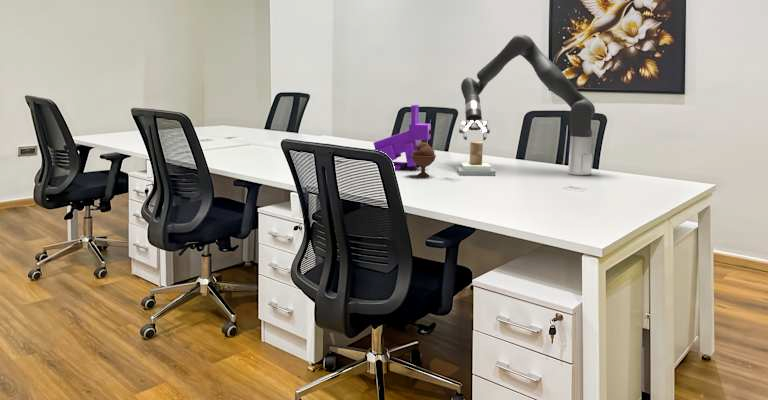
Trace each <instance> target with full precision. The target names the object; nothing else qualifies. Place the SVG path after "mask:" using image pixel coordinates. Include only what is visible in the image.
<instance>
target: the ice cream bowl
mask: <svg viewBox="0 0 768 400" xmlns="http://www.w3.org/2000/svg"><path fill="white" fill-rule="evenodd" d="M436 157H437V155H436V154H435V150H434V148H433V147H431V146H430V145H429V143H428V142H425V141H422V142H418V146H417V149H416V150H415V151H413V154H412V155H411V158H412V160H413V162H414V163H415V164H416V165H418V166H419V167H420V171H421V172H419V173H417V175H416V176H417V177H419V178H429V177H430V174H429V173H427V172H426V167H429V166H430V165H432V163H434V161H435V160H436Z"/></svg>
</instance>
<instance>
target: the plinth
mask: <svg viewBox="0 0 768 400" xmlns="http://www.w3.org/2000/svg"><path fill="white" fill-rule="evenodd" d="M456 171H457V173H458V175H459V176H468V177H469V176H471V177H472V176H473V177H474V176H477V177H479V176H480V177H482V176H483V177H485V176H487V177H492V176H494V177H496V170H495V169H494V168H493V167H492V166H491V165H490V164H489V163H488V162H487V161H486V162H483V161H482V165H471V164H470V161H466V162H464V161H462V162H461V165H456Z"/></svg>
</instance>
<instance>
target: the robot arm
mask: <svg viewBox="0 0 768 400" xmlns="http://www.w3.org/2000/svg"><path fill="white" fill-rule="evenodd" d="M518 56H521V57H522V58H524V59H525V60H526V61H527V62H528V63H529V64H530V65H531V67H532V68H533V70H534V72H535V74H536V76H537V78H538V79H539V80H540V81H541V83H542V84H543V85H544V86H545V87H546V88H547V89H548V90H549V91H550V92H552V93H553V94H555V95H556V96H557V97H559V99H561V100H563V101H564V102H565V103H566V104H567V105H568V106H569V107H570V114H569V118H570V119H569V131H570V136H569V137H570V139H569V153H568V169H567V170H568V171H567V174H569V175H576V176H587V175H591V174H592V164H593V163H592V162H593V152H592V153H591V151H592V149H591V148H592V136H593V130H592V118H593V117H594V116H595V113H596V108H595V107H596V106H595V105H594V104H593V102H592V101H590V100H589V99H588V98H587V97H585V96H584V95H583V94H582V93H581V92H580V91H579V90H578V89H577V88H576V87H575V86H574V84H573V83H572V82H571V81H570V80H569V78H567V76H566V75H565V74H564V73H563V72H562V71H561V69H559V67H557V66H556V64H555V63H553V62H552V61H551V60H550V58H548V57H547V56H546V55H545V54H544V53H543V52H542V51H541V49H540V48H539V47H538V45H537V44H536V43H535V42H534V41H533V39H532V38H531V37H530V36H528V35H525V34H517V35H515V36H513V37H512V38H511V39H510V40H509V42H508V43H506V45H505V46H504V48H502V50H501V51H500V52H499V53H498V54H497V55H496V56H495V57H494V58H493V59H492V60H490V61H489V62H488V63H486V64H485V66H483V67H482V68H481V69H480V70H479V71H477V74H476V77H477V80H478V82H477V81H476V80H475V79H474V78H472V77H466V78H464V79H463V80H462V81H461V83H460V84H461V85H460V89H461V93H462V95H463V98H464V101H465V102H464V105H465V109H464V114H465V121H463V120H459V123H458V124H459V126H458V127H459V128H458V129H459V130H458V133H459V134H462V136H463V140H464V141H467V140H468V134H467V133H468V132H469V131H479V132H480V133H482V139H483V141H486V140H487V138H488V136H487V135H488V134H490V133H491V126H490V121H489V120H486V121H483V117H482V107H481V100H480V95H481V93H482V92H483V90H485V88H486V86H487V85H488V84H489V82H491V81H492V80H493V79H494V78H496V76H498V75H499V73H501V71H502V70H503V69H504V67H506V65H507V64H508V63H510V62H511V61H512V60H514V59H515V58H516V57H518ZM464 125H465V128H464Z"/></svg>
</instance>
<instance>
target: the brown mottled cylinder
mask: <svg viewBox="0 0 768 400" xmlns="http://www.w3.org/2000/svg"><path fill="white" fill-rule="evenodd" d="M469 143H470V145H469V162H470V164H471V165H482V162H483V151H484V150H483V149H484V147H483V145H484V143H483V142H482V141H470V142H469Z"/></svg>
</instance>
